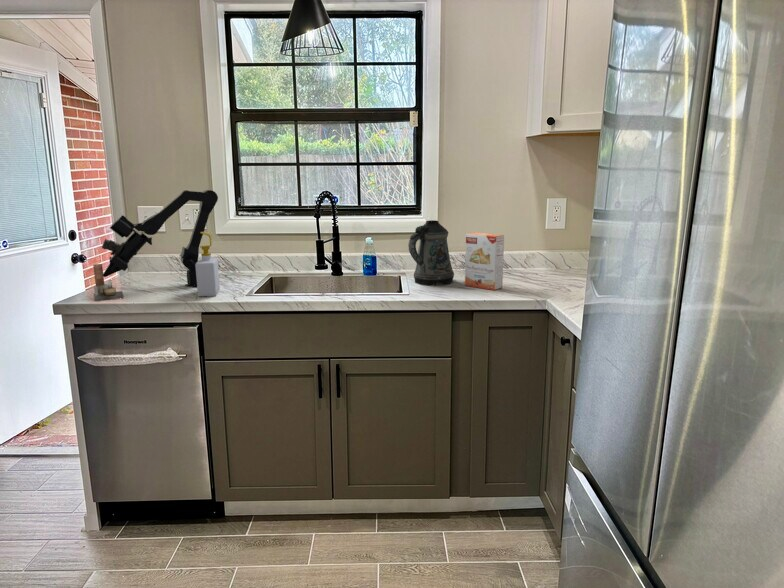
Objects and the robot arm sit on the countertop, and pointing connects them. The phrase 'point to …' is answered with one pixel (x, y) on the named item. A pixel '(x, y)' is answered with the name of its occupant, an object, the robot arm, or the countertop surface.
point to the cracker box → (484, 260)
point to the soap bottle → (207, 272)
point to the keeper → (99, 288)
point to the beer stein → (431, 255)
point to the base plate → (109, 296)
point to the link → (102, 279)
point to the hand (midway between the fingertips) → (103, 276)
